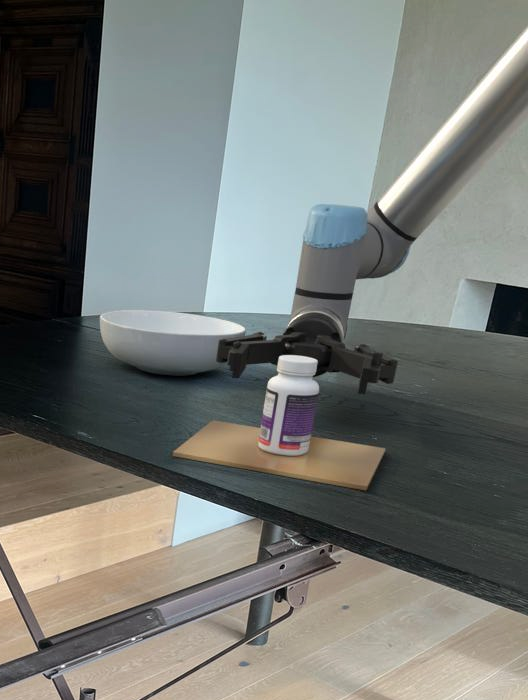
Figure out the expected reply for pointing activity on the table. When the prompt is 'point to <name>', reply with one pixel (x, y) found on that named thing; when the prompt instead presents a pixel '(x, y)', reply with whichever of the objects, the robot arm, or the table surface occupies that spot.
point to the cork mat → (316, 465)
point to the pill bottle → (290, 407)
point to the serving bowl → (166, 340)
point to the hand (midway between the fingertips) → (299, 373)
